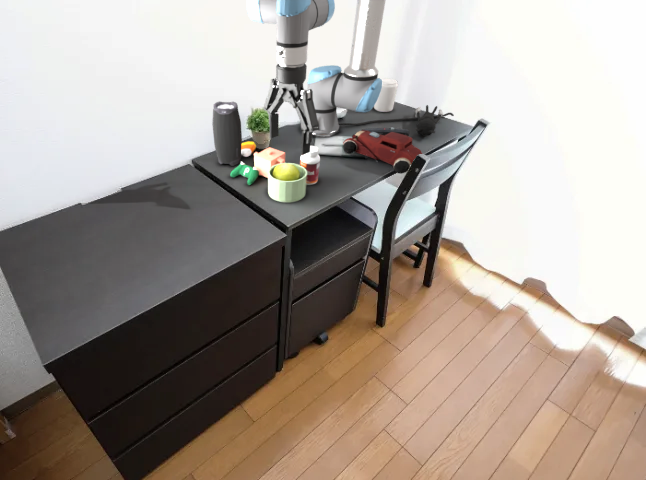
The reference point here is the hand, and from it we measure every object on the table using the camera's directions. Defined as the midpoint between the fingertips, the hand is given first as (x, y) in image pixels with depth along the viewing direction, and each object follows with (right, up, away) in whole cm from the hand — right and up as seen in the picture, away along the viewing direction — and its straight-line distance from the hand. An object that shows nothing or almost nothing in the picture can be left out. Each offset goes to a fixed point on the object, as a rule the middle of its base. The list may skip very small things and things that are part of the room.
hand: (289, 144), depth 108 cm
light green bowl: (0, -12, +10) cm, 16 cm away
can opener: (+39, +12, +36) cm, 54 cm away
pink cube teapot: (-5, -4, +19) cm, 20 cm away
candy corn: (-12, +10, +32) cm, 36 cm away
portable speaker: (-19, +2, +26) cm, 32 cm away
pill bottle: (+7, -7, +15) cm, 18 cm away
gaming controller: (-13, -6, +17) cm, 22 cm away
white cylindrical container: (+47, +34, +60) cm, 83 cm away
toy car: (+35, +2, +25) cm, 42 cm away
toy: (+65, +33, +55) cm, 92 cm away
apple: (0, -11, +10) cm, 15 cm away
